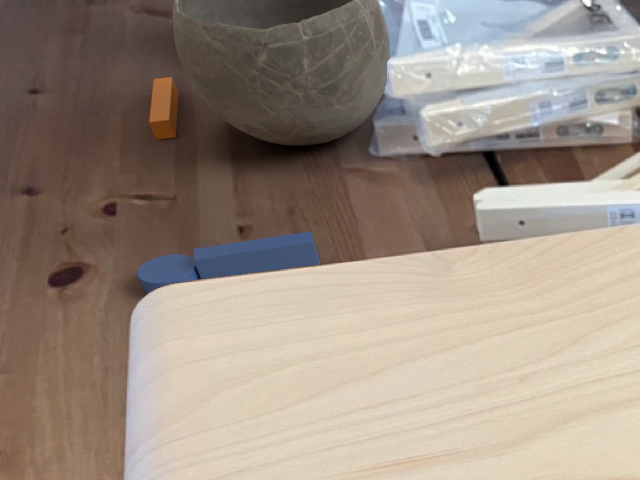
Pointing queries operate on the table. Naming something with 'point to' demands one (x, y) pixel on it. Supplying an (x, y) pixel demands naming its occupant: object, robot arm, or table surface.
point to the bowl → (285, 64)
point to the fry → (164, 108)
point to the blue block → (231, 260)
